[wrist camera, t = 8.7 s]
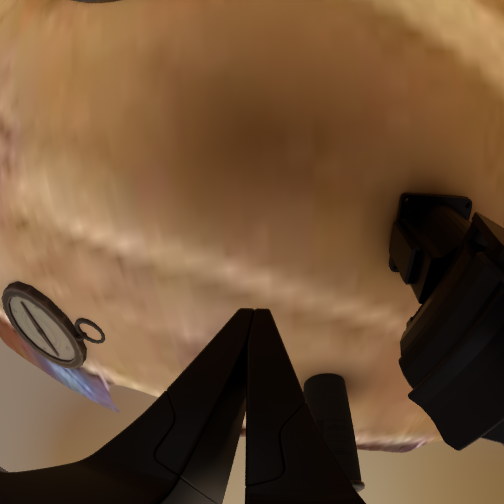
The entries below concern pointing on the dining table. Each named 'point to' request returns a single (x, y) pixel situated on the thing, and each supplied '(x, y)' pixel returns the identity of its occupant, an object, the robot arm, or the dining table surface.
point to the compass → (46, 326)
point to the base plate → (95, 1)
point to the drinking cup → (335, 421)
